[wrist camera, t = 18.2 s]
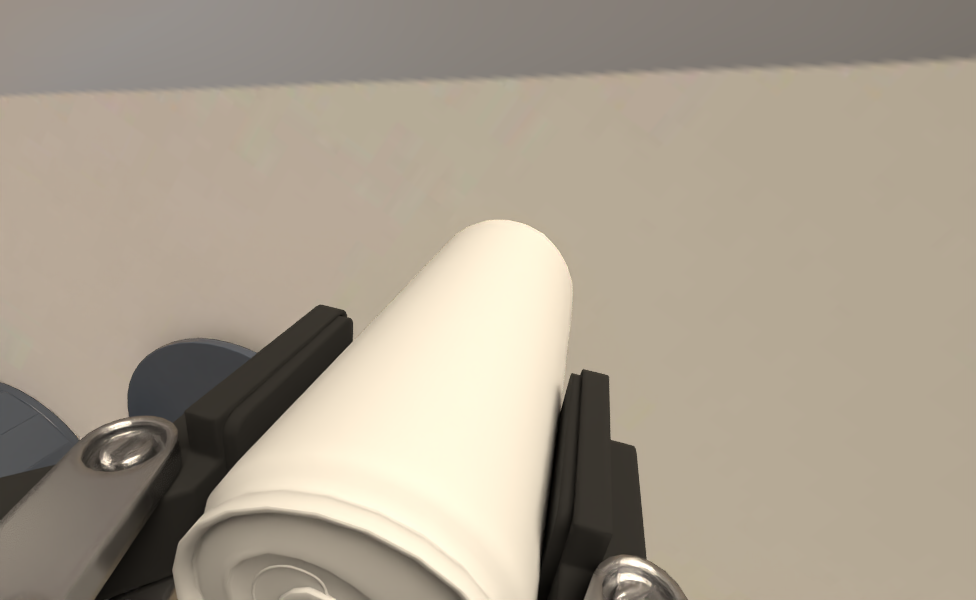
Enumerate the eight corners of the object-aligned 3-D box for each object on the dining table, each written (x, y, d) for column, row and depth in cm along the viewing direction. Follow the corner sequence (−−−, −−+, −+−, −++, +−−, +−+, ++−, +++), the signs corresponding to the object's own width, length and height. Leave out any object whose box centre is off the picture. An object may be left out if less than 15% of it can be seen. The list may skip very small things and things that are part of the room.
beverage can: (485, 185, 15) (222, 419, 5) (605, 271, 16) (615, 674, 5) (415, 293, 18) (128, 620, 7) (522, 366, 18) (405, 788, 7)
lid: (161, 489, 31) (76, 564, 26) (125, 305, 26) (8, 358, 21) (352, 552, 29) (300, 646, 24) (360, 370, 24) (294, 445, 19)
